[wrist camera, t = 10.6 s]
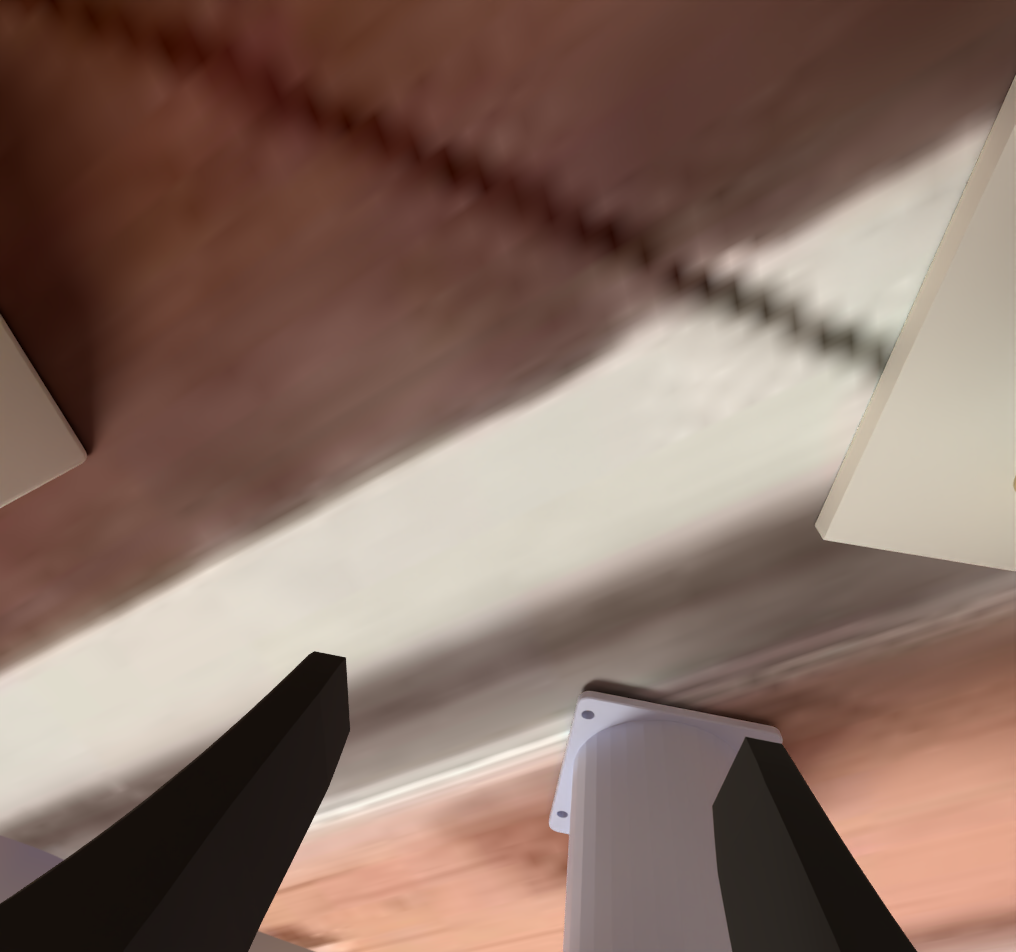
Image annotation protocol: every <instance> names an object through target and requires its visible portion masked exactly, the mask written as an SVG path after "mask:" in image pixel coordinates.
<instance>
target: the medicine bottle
mask: <svg viewBox="0 0 1016 952" xmlns="http://www.w3.org/2000/svg"><path fill="white" fill-rule="evenodd" d="M86 458H87V453H86V451H85V449H84V448H83V446H82V444H81V443H80V441H79V440H78V438H77V436H76V435H75V433H74V431H73V430H72V428H71V427H70V425H69V423H68V422H67V420H66V419H65V417H64V415H63V414H62V412H61V411H60V409H59V407H58V406H57V404H56V403H55V401H54V399H53V398H52V396H51V395H50V393H49V391H48V390H47V388H46V386H45V385H44V383H43V382H42V380H41V378H40V377H39V375H38V374H37V372H36V370H35V369H34V367H33V366H32V364H31V362H30V361H29V359H28V358H27V356H26V354H25V353H24V351H23V350H22V348H21V346H20V345H19V343H18V341H17V340H16V338H15V337H14V335H13V333H12V332H11V330H10V329H9V327H8V325H7V324H6V322H5V321H4V319H3V317H2V316H1V314H0V508H1V507H3V506H5V505H7V504H9V503H10V502H12V501H14V500H16V499H18V498H20V497H21V496H23V495H25V494H27V493H29V492H31V491H32V490H34V489H36V488H38V487H40V486H42V485H43V484H45V483H47V482H49V481H51V480H53V479H54V478H56V477H58V476H60V475H62V474H64V473H65V472H67V471H69V470H71V469H73V468H75V467H76V466H78V465H80V464H82V463H83V462H84V461H85V460H86Z"/></svg>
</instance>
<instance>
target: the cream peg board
mask: <svg viewBox="0 0 1016 952" xmlns="http://www.w3.org/2000/svg"><path fill="white" fill-rule="evenodd" d="M815 527H816V528H817V530H818V532H819V533H820V535H821V537H822V538H823V540H828V541H834V542H840V543H846V544H852V545H858V546H864V547H870V548H876V549H883V550H889V551H895V552H901V553H907V554H913V555H919V556H925V557H931V558H937V559H943V560H949V561H955V562H961V563H967V564H973V565H979V566H985V567H991V568H997V569H1003V570H1009V571H1015V572H1016V75H1015V77H1014V80H1013V82H1012V84H1011V86H1010V89H1009V91H1008V93H1007V95H1006V98H1005V100H1004V102H1003V104H1002V107H1001V109H1000V111H999V113H998V116H997V118H996V120H995V122H994V125H993V127H992V129H991V131H990V134H989V136H988V138H987V140H986V142H985V145H984V147H983V149H982V151H981V154H980V156H979V158H978V160H977V163H976V165H975V167H974V169H973V172H972V174H971V176H970V178H969V181H968V183H967V185H966V187H965V190H964V192H963V194H962V196H961V199H960V201H959V203H958V205H957V207H956V210H955V212H954V214H953V216H952V219H951V221H950V223H949V225H948V228H947V230H946V232H945V234H944V237H943V239H942V241H941V243H940V246H939V248H938V250H937V252H936V255H935V257H934V259H933V261H932V264H931V266H930V268H929V270H928V272H927V275H926V277H925V279H924V281H923V284H922V286H921V288H920V290H919V293H918V295H917V297H916V299H915V302H914V304H913V306H912V308H911V311H910V313H909V315H908V317H907V320H906V322H905V324H904V326H903V329H902V331H901V333H900V335H899V338H898V340H897V342H896V344H895V346H894V349H893V351H892V353H891V355H890V358H889V360H888V362H887V364H886V367H885V369H884V371H883V373H882V376H881V378H880V380H879V382H878V385H877V387H876V389H875V391H874V394H873V396H872V398H871V400H870V403H869V405H868V407H867V409H866V411H865V414H864V416H863V418H862V420H861V423H860V425H859V427H858V429H857V432H856V434H855V436H854V438H853V441H852V443H851V445H850V447H849V450H848V452H847V454H846V456H845V459H844V461H843V463H842V465H841V468H840V470H839V472H838V474H837V476H836V479H835V481H834V483H833V485H832V488H831V490H830V492H829V494H828V497H827V499H826V501H825V503H824V506H823V508H822V510H821V512H820V515H819V517H818V519H817V521H816V524H815Z"/></svg>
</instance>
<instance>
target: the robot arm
mask: <svg viewBox="0 0 1016 952" xmlns="http://www.w3.org/2000/svg"><path fill="white" fill-rule="evenodd" d="M586 710H589V711H586ZM349 731H350V722H349V704H348V687H347V670H346V658H345V657H340V656H335V655H330V654H325V653H320V652H315V651H314V652H313V653H311V654H309V655H308V656H307V657H306V658H305V659H304V660H303V661H302V662H301V663H300V664H299V665H298V666H297V667H296V668H295V669H294V670H293V671H292V672H291V673H290V674H289V675H287V676H286V677H285V678H284V679H283V680H282V681H281V682H280V683H279V684H278V685H277V686H276V687H275V688H274V689H273V690H272V691H271V692H270V693H269V694H268V695H266V696H265V697H264V698H263V699H262V700H261V701H260V702H259V703H258V704H257V705H256V706H255V707H254V708H252V709H251V710H250V711H249V712H248V713H247V714H246V715H245V716H244V717H243V718H241V719H240V720H239V721H238V722H237V723H236V724H235V725H234V726H232V727H231V728H230V729H229V730H228V731H227V732H226V733H225V734H223V735H222V736H221V737H220V738H219V739H218V740H217V741H216V742H214V743H213V744H212V745H211V746H210V747H209V748H208V749H206V750H205V751H204V752H203V753H202V754H201V755H199V756H198V757H197V758H196V759H195V760H193V761H192V762H191V763H190V764H189V765H187V766H186V767H185V768H184V769H182V770H181V771H180V772H179V773H178V774H176V775H175V776H174V777H173V778H172V779H170V780H169V781H168V782H167V783H165V784H164V785H163V786H162V787H161V788H159V789H158V790H157V791H156V792H154V793H153V794H152V795H151V796H150V797H148V798H147V799H146V800H144V801H143V802H142V803H141V804H139V805H138V806H137V807H135V808H134V809H133V810H132V811H130V812H129V813H128V814H126V815H125V816H124V817H123V818H121V819H120V820H119V821H117V822H116V823H115V824H113V825H112V826H111V827H109V828H108V829H107V830H105V831H104V832H102V833H101V834H100V835H98V836H97V837H96V838H94V839H93V840H92V841H90V842H89V843H87V844H86V845H85V846H83V847H82V848H81V849H79V850H78V851H76V852H75V853H74V854H72V855H71V856H69V857H68V858H67V859H65V860H64V861H62V862H61V863H59V864H58V865H56V866H55V867H54V868H52V869H51V870H49V871H48V872H46V873H45V874H43V875H42V876H40V877H39V878H37V879H36V880H35V881H33V882H32V883H30V884H29V885H27V886H26V887H24V888H23V889H21V890H20V891H19V892H17V893H16V894H14V895H13V896H12V897H10V898H8V899H7V900H5V901H4V902H2V903H1V904H0V952H248V950H249V949H250V946H251V944H252V942H253V940H254V938H255V935H256V933H257V931H258V929H259V927H260V925H261V922H262V920H263V918H264V916H265V914H266V912H267V910H268V908H269V906H270V904H271V902H272V900H273V898H274V896H275V894H276V892H277V890H278V888H279V886H280V884H281V882H282V880H283V878H284V876H285V874H286V872H287V870H288V868H289V866H290V864H291V862H292V860H293V858H294V856H295V854H296V852H297V850H298V848H299V846H300V844H301V842H302V840H303V838H304V836H305V834H306V832H307V830H308V828H309V826H310V824H311V822H312V820H313V818H314V816H315V814H316V812H317V810H318V808H319V806H320V804H321V802H322V800H323V798H324V796H325V794H326V792H327V789H328V787H329V785H330V782H331V780H332V777H333V774H334V772H335V769H336V767H337V764H338V762H339V759H340V756H341V753H342V751H343V748H344V745H345V742H346V740H347V737H348V734H349ZM782 743H783V739H782V736H781V733H780V730H778V729H777V728H776V727H773V726H769V725H764V724H759V723H754V722H749V721H744V720H738V719H733V718H728V717H723V716H718V715H713V714H708V713H703V712H698V711H692V710H687V709H682V708H677V707H672V706H667V705H662V704H657V703H651V702H646V701H641V700H636V699H631V698H626V697H621V696H616V695H610V694H605V693H600V692H595V691H585V692H582V693H581V694H580V695H579V696H578V700H577V704H576V708H575V712H574V716H573V720H572V725H571V729H570V733H569V737H568V741H567V746H566V750H565V754H564V758H563V762H562V766H561V771H560V775H559V779H558V783H557V787H556V791H555V796H554V800H553V804H552V808H551V812H550V817H549V826H550V827H551V829H553V830H554V831H557V832H561V833H566V834H569V848H568V866H567V885H566V903H565V921H564V939H563V952H917V951H916V949H915V948H914V947H913V945H912V944H911V942H910V941H909V939H908V938H907V937H906V935H905V934H904V932H903V931H902V929H901V928H900V926H899V925H898V924H897V922H896V921H895V919H894V918H893V916H892V915H891V913H890V912H889V910H888V909H887V907H886V906H885V904H884V903H883V901H882V900H881V898H880V897H879V895H878V894H877V892H876V891H875V889H874V888H873V886H872V885H871V883H870V882H869V880H868V879H867V877H866V876H865V874H864V873H863V871H862V870H861V868H860V867H859V865H858V864H857V862H856V861H855V859H854V858H853V856H852V855H851V853H850V852H849V850H848V848H847V847H846V845H845V844H844V842H843V841H842V839H841V838H840V836H839V834H838V833H837V831H836V830H835V828H834V826H833V825H832V823H831V822H830V820H829V818H828V817H827V815H826V814H825V812H824V811H823V809H822V807H821V806H820V804H819V803H818V801H817V799H816V798H815V796H814V794H813V793H812V791H811V790H810V788H809V786H808V785H807V783H806V781H805V780H804V778H803V777H802V775H801V773H800V772H799V770H798V768H797V767H796V765H795V764H794V762H793V760H792V759H791V757H790V756H789V754H788V752H787V751H786V749H785V748H784V746H783V745H782Z"/></svg>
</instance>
